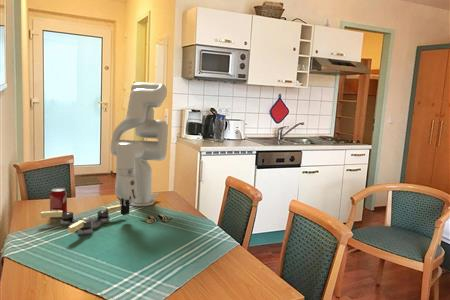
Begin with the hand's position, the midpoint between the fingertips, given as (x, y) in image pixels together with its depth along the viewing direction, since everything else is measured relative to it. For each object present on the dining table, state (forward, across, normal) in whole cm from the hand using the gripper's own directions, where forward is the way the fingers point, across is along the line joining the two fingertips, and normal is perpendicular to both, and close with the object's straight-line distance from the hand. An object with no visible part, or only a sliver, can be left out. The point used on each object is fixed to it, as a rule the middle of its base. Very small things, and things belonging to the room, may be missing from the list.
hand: (125, 214), depth 163 cm
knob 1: (+2, -3, +22) cm, 23 cm away
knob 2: (+1, +6, +2) cm, 7 cm away
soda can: (+4, +25, +17) cm, 30 cm away
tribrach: (+3, +6, +13) cm, 15 cm away
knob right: (+1, +15, +22) cm, 27 cm away
